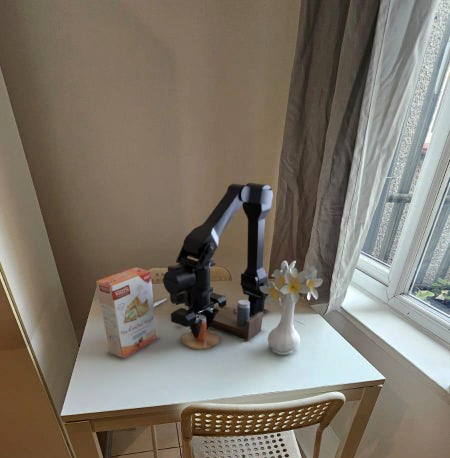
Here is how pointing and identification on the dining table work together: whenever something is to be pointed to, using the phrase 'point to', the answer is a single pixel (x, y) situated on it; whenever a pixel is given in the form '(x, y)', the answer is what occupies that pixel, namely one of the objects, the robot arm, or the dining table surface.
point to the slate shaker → (243, 312)
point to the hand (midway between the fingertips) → (200, 335)
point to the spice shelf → (229, 324)
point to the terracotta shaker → (202, 329)
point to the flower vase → (288, 303)
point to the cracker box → (127, 310)
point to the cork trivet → (193, 344)
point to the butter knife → (159, 302)
